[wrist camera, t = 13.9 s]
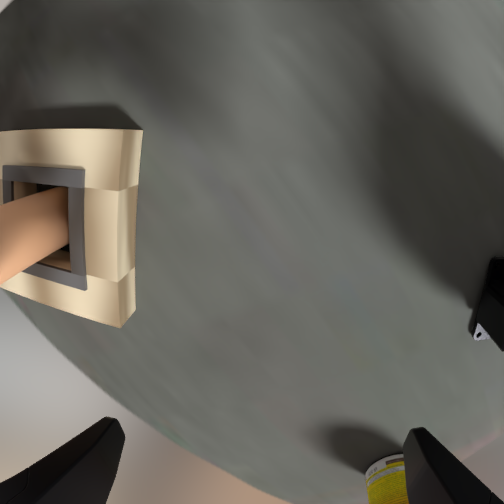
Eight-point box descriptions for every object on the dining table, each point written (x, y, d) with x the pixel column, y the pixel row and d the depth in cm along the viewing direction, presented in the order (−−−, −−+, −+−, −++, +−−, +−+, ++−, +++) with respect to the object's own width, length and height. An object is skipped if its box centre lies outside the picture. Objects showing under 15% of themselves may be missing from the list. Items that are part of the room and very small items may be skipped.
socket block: (143, 130, 17) (120, 129, 14) (135, 309, 21) (118, 330, 19) (11, 130, 18) (-14, 133, 15) (17, 274, 22) (-3, 288, 19)
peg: (68, 175, 18) (-81, 224, 7) (94, 226, 19) (-44, 310, 8) (36, 203, 19) (-94, 260, 8) (60, 250, 20) (-61, 331, 9)
